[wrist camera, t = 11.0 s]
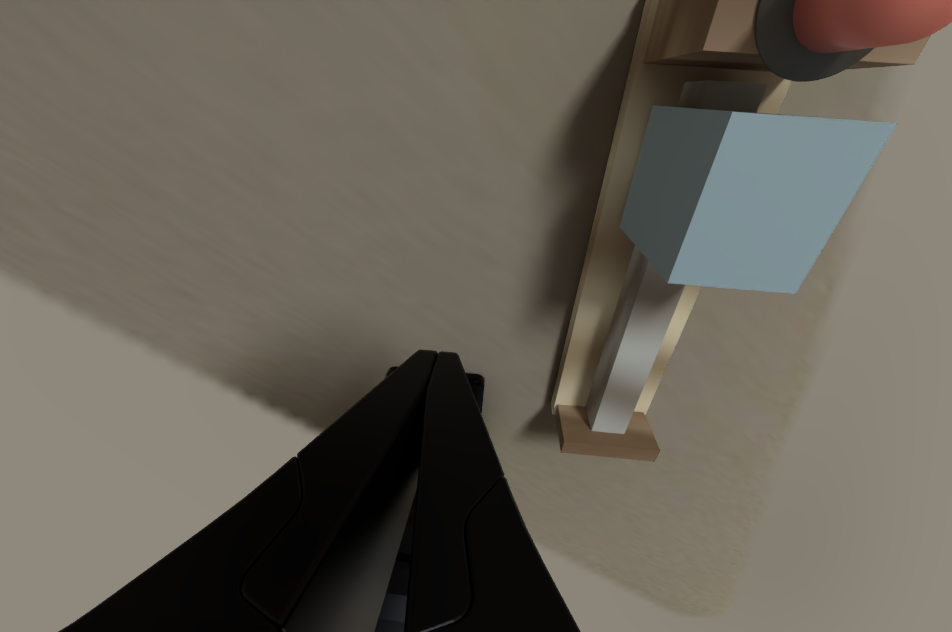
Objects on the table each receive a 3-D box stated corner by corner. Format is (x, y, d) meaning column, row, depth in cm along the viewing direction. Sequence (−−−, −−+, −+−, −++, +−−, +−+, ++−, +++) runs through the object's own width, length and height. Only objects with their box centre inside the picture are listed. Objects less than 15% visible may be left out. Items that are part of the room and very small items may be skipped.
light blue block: (708, 234, 17) (795, 293, 12) (619, 226, 17) (667, 283, 12) (758, 112, 14) (897, 123, 9) (652, 105, 15) (732, 111, 9)
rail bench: (637, 412, 25) (671, 494, 20) (550, 403, 25) (562, 484, 20) (819, -26, 13) (1023, -103, 8) (654, -36, 13) (748, -118, 8)
